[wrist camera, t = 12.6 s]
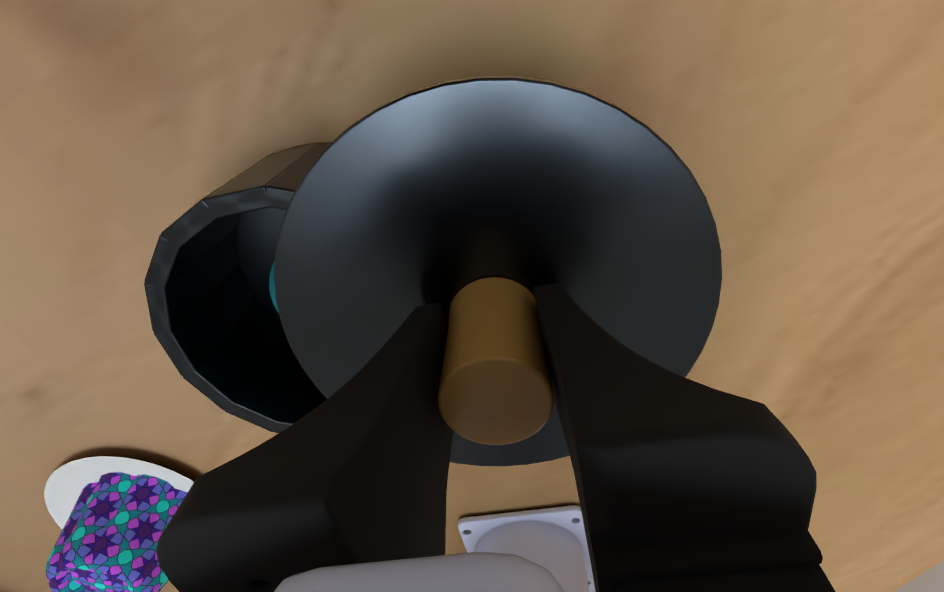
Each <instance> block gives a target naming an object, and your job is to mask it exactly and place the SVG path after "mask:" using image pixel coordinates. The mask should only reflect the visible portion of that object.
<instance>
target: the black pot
mask: <svg viewBox="0 0 944 592" xmlns="http://www.w3.org/2000/svg"><path fill="white" fill-rule="evenodd" d="M330 144H331V143H314V144H307V145H301V146H296V147H293V148H290V149H286V150H283V151H281V152H278V153H274V154H271V155H268V156H267V157H265V158H264V159H262V160H261V161H259V162H258V163H256V164H255V165H253V166H251V167H250V168H248V169H247V170H245V171H244V172H242V173H241V174H239V175H238V176H236V177H235V178H233V179H232V180H230V181H229V182H227V183H226V184H224V185H223V186H221V187H220V188H218V189H216V190H215V191H213V192H212V193H210V194H209V195H207V196H206V197H204V198H203V199H201V200H200V201H199V202H198V203H196V204H195V205H194V206H193V207H192V208H190V209H189V210H188V211H187V212H186V213H184V214H183V215H182V216H181V217H180V218H178V219H177V220H176V221H175V222H174V223H172V224H171V225H170V226H169V227H168V228H166V229H165V230H164V231H163V232H162V233H161V235H160V236H159V239H158V242H157V245H156V248H155V251H154V254H153V257H152V260H151V263H150V266H149V269H148V272H147V275H146V278H145V283H144V285H145V291H146V296H147V302H148V307H149V313H150V318H151V324H152V329H153V331H154V334H155V336H156V338H157V339H158V341H159V342H160V344H161V345H162V347H163V348H164V350H165V351H166V353H167V354H168V356H169V357H170V359H171V361H172V362H173V364H174V365H175V367H176V368H177V370H178V371H179V373H180V374H181V375H182V376H183V378H184V379H185V380H187V381H188V382H189V383H190V384H192V385H193V386H194V387H195V388H197V389H198V390H199V391H200V392H201V393H203V394H204V395H205V396H206V397H208V398H209V399H210V400H211V401H213V402H214V403H215V404H216V405H218V406H219V407H220V408H221V409H222V410H225V412H227V413H230V414H232V415H234V416H236V417H239V418H241V419H243V420H246V421H248V422H250V423H253V424H255V425H257V426H259V427H262V428H264V429H266V430H269V431H271V432H275V433H280V432H282V431H283V430H285V429H287V428H288V427H290V426H291V425H293V424H294V423H296V422H297V421H298V420H300V419H301V418H303V417H304V416H305V415H307V414H308V413H309V412H311V411H312V410H314V409H315V408H316V407H318V406H319V405H320V404H322V403H323V402H325V401H326V400H327V398H326V397H325V396H324V395H323V394H322V393H321V392H320V391H319V389H318V388H317V387H316V386H315V385H314V383H313V382H312V381H311V379H310V378H309V377H308V375H307V374H306V373H305V371H304V370H303V368H302V367H301V365H300V363H299V361H298V360H297V358H296V356H295V354H294V352H293V351H292V349H291V347H290V344H289V342H288V339H287V337H286V334H285V332H284V329H283V327H282V323H281V319H280V315H279V313H278V311H277V310H276V308H275V306H274V304H273V301H272V299H271V295H270V290H269V278H270V272H271V268H272V265H273V263H274V260H275V250H276V245H277V240H278V236H279V231H280V226H281V223H282V220H283V218H284V215H285V212H286V210H287V207H288V205H289V202H290V199H291V197H292V196H293V194H294V192H295V190H296V189H297V187H298V185H299V183H300V182H301V180H302V178H303V177H304V175H305V173H306V172H307V171H308V169H309V168H310V167H311V166H312V164H313V163H314V162H315V161H316V159H317V158H318V157H319V156H320V154H321V153H322V152H323V151H324V150H325V148H327V147H328V146H329V145H330Z"/></svg>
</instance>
